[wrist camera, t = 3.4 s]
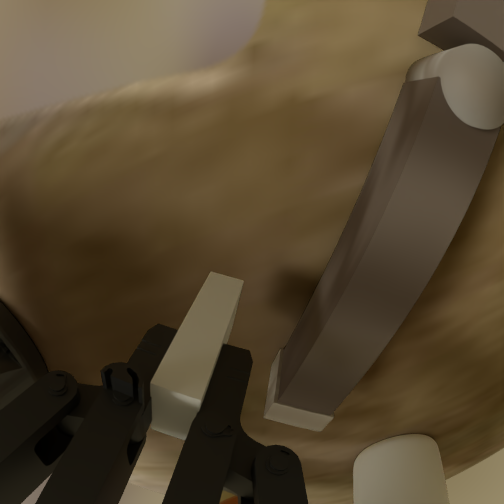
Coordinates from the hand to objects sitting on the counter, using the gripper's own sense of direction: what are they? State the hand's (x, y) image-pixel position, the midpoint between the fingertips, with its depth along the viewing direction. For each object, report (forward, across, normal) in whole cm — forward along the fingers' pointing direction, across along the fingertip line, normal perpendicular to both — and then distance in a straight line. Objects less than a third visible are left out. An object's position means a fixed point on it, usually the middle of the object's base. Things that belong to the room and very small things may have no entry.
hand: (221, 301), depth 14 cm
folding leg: (+3, -6, -4) cm, 8 cm away
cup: (+3, -20, +16) cm, 26 cm away
